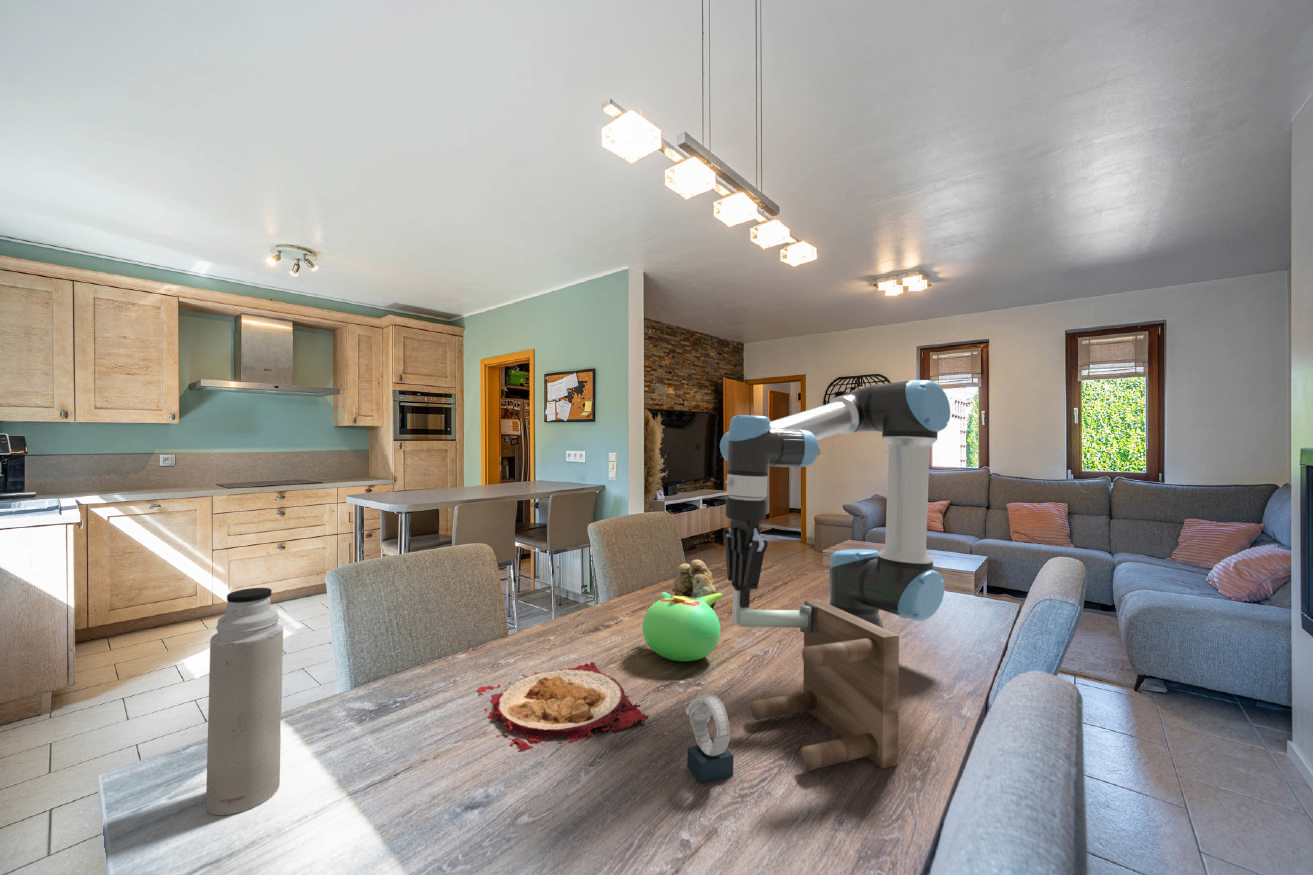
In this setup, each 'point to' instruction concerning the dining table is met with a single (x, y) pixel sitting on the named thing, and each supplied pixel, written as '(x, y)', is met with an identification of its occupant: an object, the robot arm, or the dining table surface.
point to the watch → (709, 741)
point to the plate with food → (563, 705)
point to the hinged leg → (777, 618)
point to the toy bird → (682, 627)
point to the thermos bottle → (244, 704)
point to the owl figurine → (694, 581)
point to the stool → (845, 688)
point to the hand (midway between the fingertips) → (740, 623)
